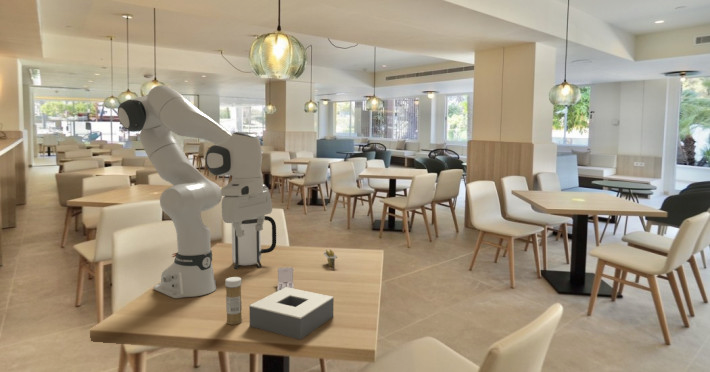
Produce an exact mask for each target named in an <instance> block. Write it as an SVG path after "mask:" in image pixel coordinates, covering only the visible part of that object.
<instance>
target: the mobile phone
mask: <svg viewBox="0 0 710 372" xmlns="http://www.w3.org/2000/svg"><path fill="white" fill-rule="evenodd" d="M277 283H278V284H277V288H276V292H277V291H279V290H281V289H283V288H285V287H288V288H293V289H295V285H294V267H293V266H292V267H289V266H287V267H285V266H284V267H277Z"/></svg>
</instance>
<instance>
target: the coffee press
mask: <svg viewBox="0 0 710 372" xmlns="http://www.w3.org/2000/svg"><path fill="white" fill-rule="evenodd" d="M257 220H258V219H257V217H255V218H252V219H248V220H244V221H242V225H241V228H242V230H244V236H241V237H237V236H236V230H235V229H234V227H233V223H231V251H232V253H231V255H232V257H231V258H232V259H231V260H232V264H234V265H233V269H234V270H239V269H240V267H241V266H253V265H254V266H255V267H257V269H259V268H261V267H262V266H263V265H262V263H261V260H262V254H269V253H270V252H273V251H274V250H275V248H276V247H277V223H276V221H275V220H274V218H272V217H271V216H268V215H265V219H264V221H268V222H270V224H271V245H270V246H269V247H268V248H262V230H260V231H256V230H255V225H257Z"/></svg>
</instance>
